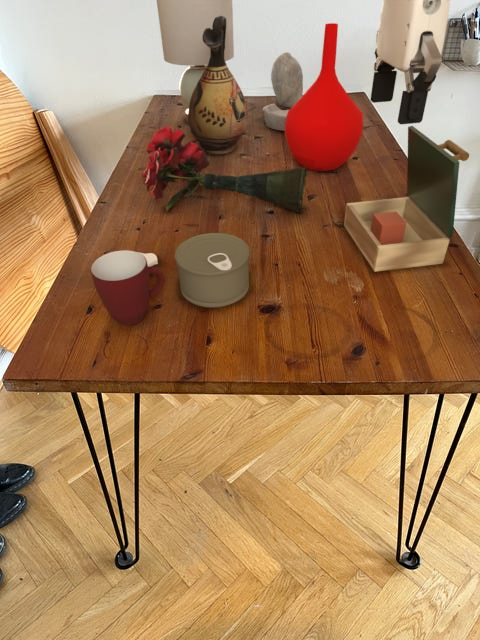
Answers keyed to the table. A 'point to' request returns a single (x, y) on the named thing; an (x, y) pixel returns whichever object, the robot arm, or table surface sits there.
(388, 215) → the block
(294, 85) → the decorative stone
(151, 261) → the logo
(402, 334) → the table surface
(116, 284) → the mug
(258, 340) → the table surface
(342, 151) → the vase
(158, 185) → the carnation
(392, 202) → the cream open box
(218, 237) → the can
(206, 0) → the lamp
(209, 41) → the ceramic jug
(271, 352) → the table surface
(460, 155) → the cover
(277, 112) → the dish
